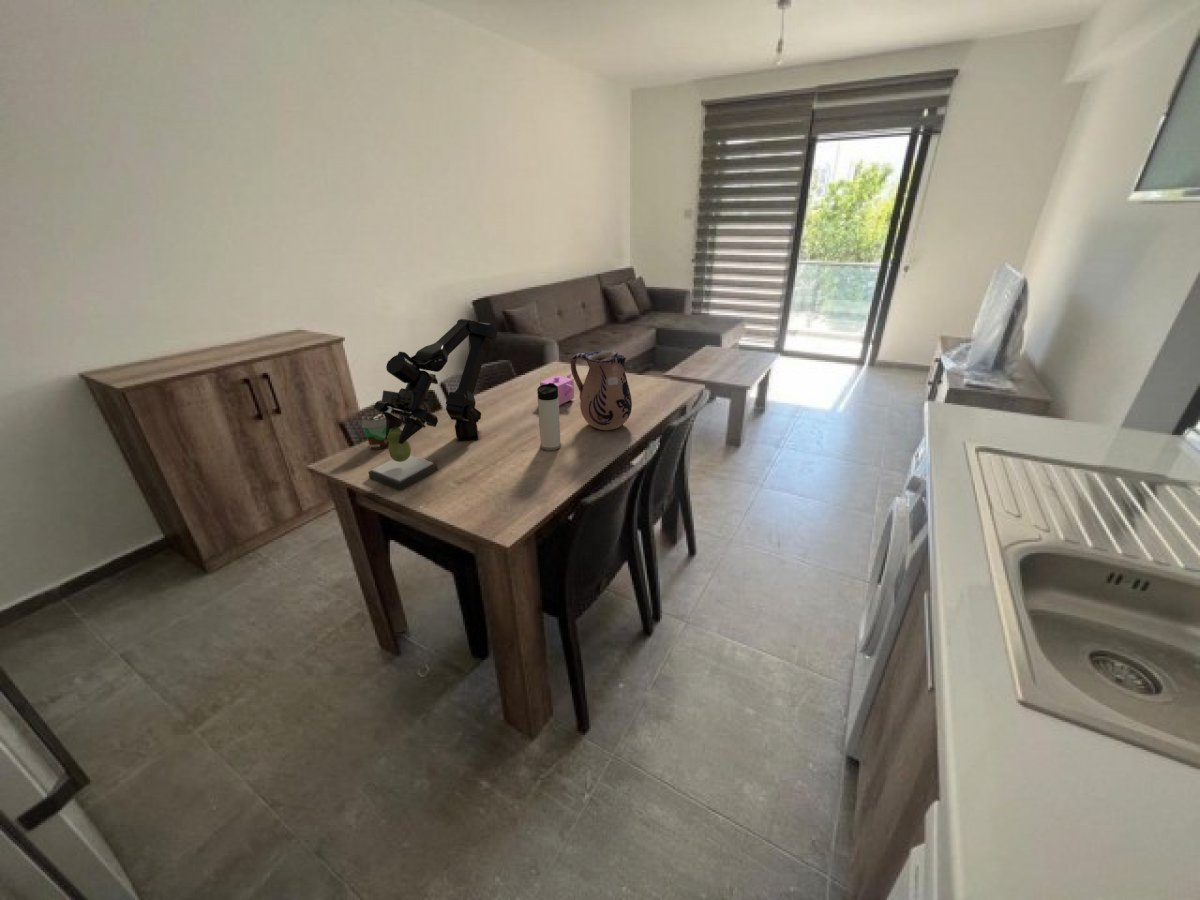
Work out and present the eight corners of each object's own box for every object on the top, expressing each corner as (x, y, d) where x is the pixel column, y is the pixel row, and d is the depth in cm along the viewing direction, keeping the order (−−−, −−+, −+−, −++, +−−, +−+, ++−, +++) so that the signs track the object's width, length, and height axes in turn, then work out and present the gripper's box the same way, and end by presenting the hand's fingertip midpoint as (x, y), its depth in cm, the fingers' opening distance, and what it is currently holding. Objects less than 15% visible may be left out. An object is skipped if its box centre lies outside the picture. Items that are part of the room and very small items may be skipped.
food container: (385, 452, 148) (378, 423, 144) (368, 451, 149) (360, 421, 145) (407, 436, 159) (402, 408, 154) (391, 434, 160) (384, 407, 156)
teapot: (559, 391, 198) (558, 367, 193) (587, 397, 191) (587, 373, 186) (531, 405, 184) (529, 379, 179) (560, 412, 177) (559, 386, 173)
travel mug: (564, 443, 154) (561, 383, 145) (555, 452, 148) (552, 390, 139) (546, 440, 156) (542, 381, 147) (537, 449, 150) (533, 388, 141)
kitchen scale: (407, 459, 144) (405, 451, 143) (437, 469, 138) (436, 461, 137) (369, 478, 134) (367, 470, 133) (400, 490, 128) (398, 481, 127)
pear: (413, 455, 138) (406, 423, 133) (411, 463, 133) (404, 430, 128) (392, 457, 136) (384, 425, 132) (390, 466, 132) (382, 433, 127)
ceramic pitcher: (628, 437, 157) (629, 363, 146) (565, 433, 161) (562, 360, 149) (633, 417, 173) (635, 349, 161) (577, 413, 176) (575, 346, 165)
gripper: (371, 372, 131) (346, 424, 127) (422, 382, 123) (397, 437, 120) (399, 390, 141) (377, 439, 137) (448, 400, 133) (426, 452, 130)
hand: (393, 441), depth 130 cm, fingers closed on pear, 4 cm apart
